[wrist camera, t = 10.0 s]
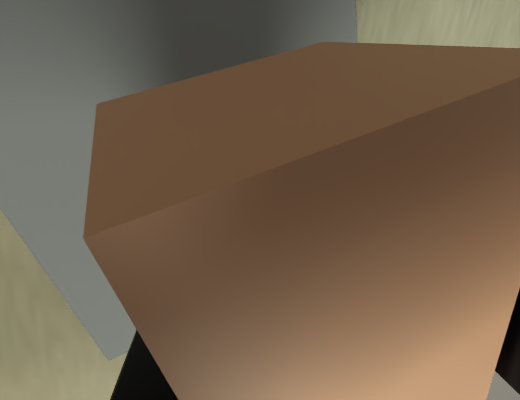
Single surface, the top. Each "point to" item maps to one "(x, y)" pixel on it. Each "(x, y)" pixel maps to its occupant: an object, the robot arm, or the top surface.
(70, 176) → the grey mat
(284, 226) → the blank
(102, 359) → the top surface
